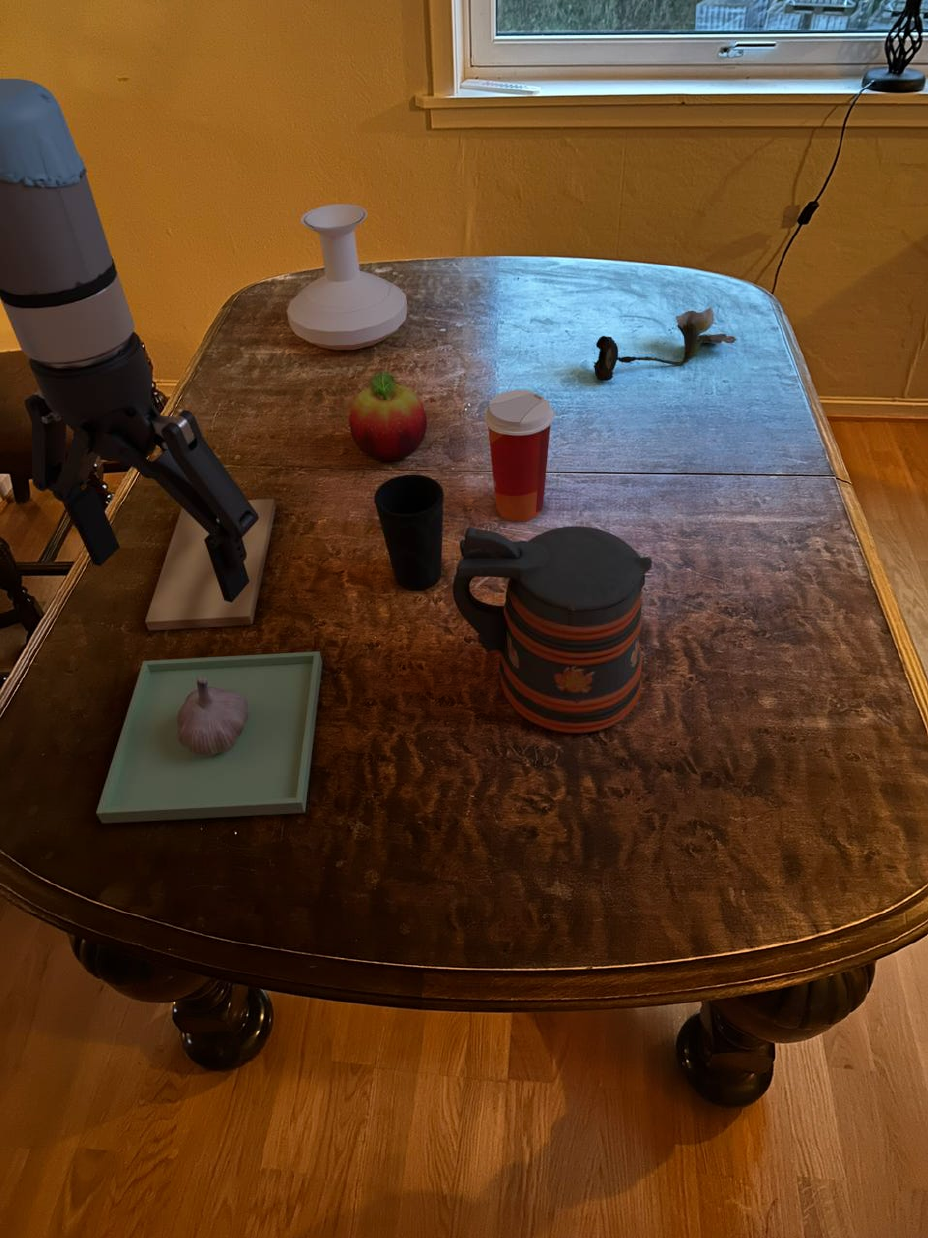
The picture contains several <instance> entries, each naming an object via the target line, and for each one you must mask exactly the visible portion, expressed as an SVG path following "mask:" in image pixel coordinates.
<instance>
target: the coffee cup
mask: <svg viewBox="0 0 928 1238" xmlns="http://www.w3.org/2000/svg"><path fill="white" fill-rule="evenodd" d="M487 405H488V406H487V409H485V413H484V421H485V424H486V425H487V431H488V440H489V451H490V460H491V470H492V471H491V472H492V481H493V488H494V489H493V491H494V498H495V499H494V500H495V506H496V510H497V513H498V514H499V515H500V517H502V518H504V519H505V520H508V521H512V522H526V521H531V520H533V519H535V518H537V517H538V516H539V515H540V514H541V513H542V511H543V506H544V501H545V500H544V499H545V489H546V479H547V471H548V470H547V468H548V458H549V457H548V456H549V446H550V445H549V444H550V434H551V424H552V423H553V421H554V419H555V412H554V411H553V408H552V407H551V403H550V401H549V400H548V399H547V398H546V399H545V397H544V396H542V395H540V394H538V393H535V392H534V391H532V390H527V389H514V390H508V391H504V392H502V393H498V394H497V395H496V396H494V397H493V398H492V399H491V400H490V401H489V403H488V404H487Z"/></svg>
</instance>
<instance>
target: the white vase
mask: <svg viewBox="0 0 928 1238" xmlns="http://www.w3.org/2000/svg"><path fill="white" fill-rule="evenodd" d="M368 213H369V212H368V211H367V210H366V209H365V208H364V207H362V206H359V205H356V204H346V203H341V204H340V203H339V204H337V203H336V204H328V205H323V206H319V207H316V208H313V209H310V210H308V211H307V212H305V213H304V214H302V216H301V218H300V222H301V224H302V225H303V226H305V227H306V228H308V229H309V230H311V231H313V232H315V233H316V234H318V237H319V243H320V244H319V245H320V248H321V250H320V251H321V256H322V261H323V269H324V274H323V275H322V276H320V277H318V278H317V279H315V280H313V281H312V282H310V283H308V284H307V285H306V286H305V287H304V288H303V289H302V290H300V292H299V293H298V294H296V295H295V297H293V298H292V299H291V300H290V301H289V305H288V307H287V310H286V314H287V315H286V316H287V319H288V324H289V326H290V328H291V329H292V331H293V333H294V334H295V335H296V336H298V337H299V338H301V339H302V340H305V341H307V342H308V343H311V344H313V345H315V346H317V347H319V348H321V349H327V350H333V351H355V350H359V349H360V350H361V349H364V348H367V347H372V346H374V345H376V344H378V343H381V342H383V341H385V340H386V339H387V338H389V337H390V336H391V335H392V334H393V333H395V332H396V331H397V330H398V329H399V328H400V327H401V326H402V324H404V323H405V322H406V320H407V314H408V302H407V301H408V300H407V295H406V294H405V293H404V292H403V290H402V289H401V288H400V287H399V286H398V285H395V284H393V283H392V282H390V281H388V280H386V279H385V278H382V277H380V276H378V275H375V274H372V273H370V272H366V271H363V270H360V265H359V255H358V248H357V241H356V233H355V230H356V229H357V228H358V227H359V226H360V224H362V223H363V221H365V220H366V219H367V217H368V215H369V214H368Z"/></svg>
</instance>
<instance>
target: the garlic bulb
mask: <svg viewBox="0 0 928 1238" xmlns="http://www.w3.org/2000/svg"><path fill="white" fill-rule="evenodd" d="M197 686H198V690H195V691H193V692H191V693H190V694H189V695H188V696H187V698H186V700H185V702H184V704H183V706H182V707H181V709H180V710H179V712H178V716H177V724H178V739H179V741H180V743H181V744H182V745H183V746H184V747H185V748H187V749H189V750H190V751H191V752H192V753H193V754H195V755H198V756H204V757H209V756H213V755H215V754H217V753H221V752H227V751H229V750H230V749H232V748H233V747H234V745H235V743H236V740H237V738H238V737H239V736H240V734H241V733H242V731H243V728H244V724H245V723H246V721H247V719H248V709H247V708H248V704H247V700H246V698H245V697H244V696H243V695H242V694H241V693H239V692H237V691H234V690H223V689H219V688H216V687H207V686H208V681H207V679H206V678H204V677H200V678H198V679H197Z"/></svg>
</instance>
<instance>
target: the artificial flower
mask: <svg viewBox="0 0 928 1238" xmlns="http://www.w3.org/2000/svg"><path fill="white" fill-rule="evenodd" d="M675 321H676V323H677V325H676V327H677V329H678V330H679V331H680V332H681V334H682V336H683V342H684V353H683V359H682V361H674V360H669V359H661V358H658V357H652V356H643V357H642V356H638V357H637V356H631V355H630V356H629V355H627V356H622V357H620V356H619V348H618V345H617V343H616V342H615V340H614V339H613V337H612V336H606V335H602V336H601V337H599V338H598V340H597V341H596V343H595V347H596V348H597V349H599V352H598V357H597V358H598V359H597V361H593V362H592V363H593V364H594V365H593V370H594V375H595V376H596V379H597V380H599V381H602V382H609V381H611V380H612V379H613V378H614V372H613V371H614V370H615V367H616V364H617V362H618V361H619V362H620V363H625V364H629V363H632V362H634V361H644V362H645V361H648V362H651V361H654V362H659V363H661V364H668V365H674V366H684V365H685V364H686V363H688V362H689V361H690V360H691V361H692V359H694V358H695V357H697V355H698V353H699V349H700V346H701V345H702V344H705V343H712V344H717V345H720V344H723V342H724V343H726V344H734V343H735V341H737V340H738V339H737V338H736V337H735V336H733V335H729V336H727V335H726V333H717V334H711V333H707V334H705V333H706V332H707V331H708V330H709V329H711V327H712V326H713V325H714V321H715V314H714V311H713V308H712V306H710V307H709V308H707V309H705V310H703V311H700V312H697V311H695V310H687V311H686V312H684V313H682V314H680V315H676V316H675ZM702 333H703V334H702Z"/></svg>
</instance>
